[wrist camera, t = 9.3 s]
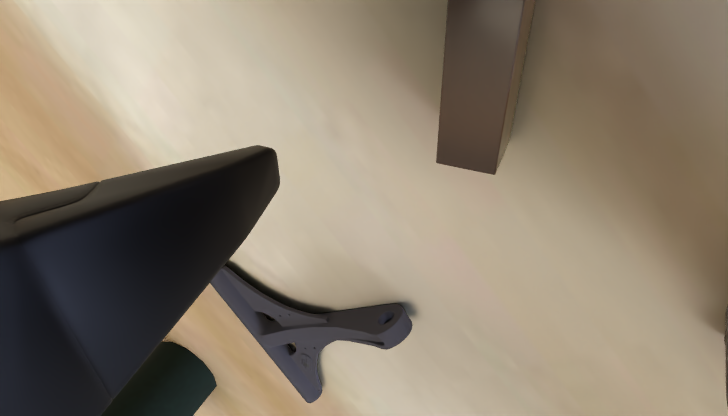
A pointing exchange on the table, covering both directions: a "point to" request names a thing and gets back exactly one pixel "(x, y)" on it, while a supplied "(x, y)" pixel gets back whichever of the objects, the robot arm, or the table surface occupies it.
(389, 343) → the bracket
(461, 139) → the spatula
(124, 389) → the wine bottle
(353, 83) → the table surface
